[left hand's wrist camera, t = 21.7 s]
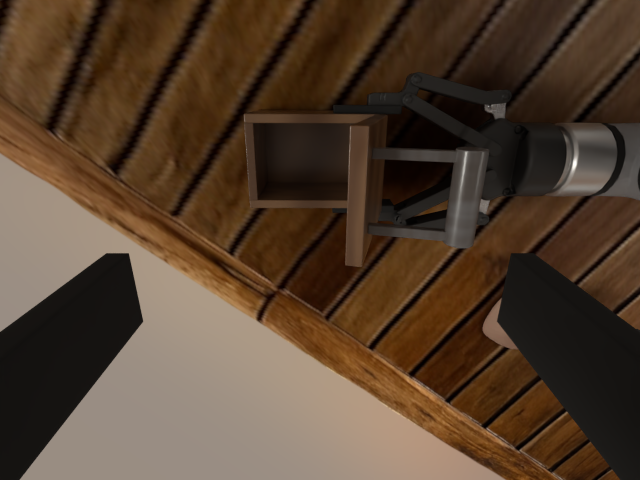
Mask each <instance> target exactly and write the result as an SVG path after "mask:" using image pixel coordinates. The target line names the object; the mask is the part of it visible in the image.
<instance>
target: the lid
mask: <svg viewBox="0 0 640 480" xmlns="http://www.w3.org/2000/svg"><path fill="white" fill-rule="evenodd" d="M387 121H388V115H374V116H371V117H369V118H367V119H365V120H362V121H360V122H358V123H355V124H353V125H351V126H350V136H349V167H348V198H347V228H346V259H345V265H348V266H357V267H362V265H363V262H364V259H365V256H366V253H367V250H368V247H369V245H370V242H371V239H372V236H373V235H384V236H395V237H406V238H417V239H427V240H438V241H443V242H444V243H445V244H446V245H449V246H452V247H456V248H469V247H472V246H473V243H474V237H475V231H476V225H477V220H478V214H479V208H480V202H481V196H482V191H483V185H484V179H485V173H486V168H487V162H488V156H489V150H488V149H485V148H478V147H458V148H456V150H440V149H413V148H386V136H387ZM385 159H386V160H409V161H431V162H454V165H453V172H452V179H451V187H450V194H449V201H448V208H447V215H446V223H445V229H440V228H428V227H416V226H405V225H393V224H381V223H377V221H378V218H379V215H380V213H381V208H382V194H383V179H384V165H385Z"/></svg>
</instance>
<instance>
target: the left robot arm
mask: <svg viewBox="0 0 640 480" xmlns="http://www.w3.org/2000/svg"><path fill="white" fill-rule="evenodd" d="M142 322H143V318H142V314H141V309H140V304H139V299H138V295H137V290H136V285H135V281H134V276H133V271H132V266H131V262H130V257H129V254H128V253H107V254H105V255H104V256H102V257H101V258H100V259H98V260H97V261H96V262H94V263H93V264H91V265H90V266H89V267H87V268H86V269H85V270H83V271H82V272H81V273H79V274H78V275H77V276H75V277H74V278H73V279H71V280H70V281H69V282H67V283H66V284H64V285H63V286H62V287H60V288H59V289H58V290H57V291H55V292H54V293H52V294H51V295H50V296H48V297H47V298H46V299H44V300H43V301H42V302H40V303H39V304H38V305H36V306H35V307H34V308H32V309H31V310H29V311H28V312H27V313H25V314H24V315H23V316H21V317H20V318H19V319H17V320H16V321H15V322H13V323H12V324H11V325H9V326H8V327H6V328H5V329H4V330H2V331H1V332H0V480H20V478H21V477H22V476H23V474H24V473H25V472H26V471H27V469H28V468H29V467H30V466H31V464H32V463H33V462H34V460H35V459H36V458H37V457H38V455H39V454H40V453H41V452H42V450H43V449H44V448H45V446H46V445H47V444H48V442H49V441H50V440H51V439H52V437H53V436H54V435H55V434H56V432H57V431H58V430H59V428H60V427H61V426H62V425H63V423H64V422H65V421H66V420H67V418H68V417H69V416H70V414H71V413H72V412H73V411H74V409H75V408H76V407H77V405H78V404H79V403H80V402H81V400H82V399H83V398H84V397H85V395H86V394H87V393H88V391H89V390H90V389H91V388H92V386H93V385H94V384H95V382H96V381H97V380H98V379H99V377H100V376H101V375H102V373H103V372H104V371H105V370H106V368H107V367H108V366H109V364H110V363H111V362H112V361H113V359H114V358H115V357H116V356H117V354H118V353H119V352H120V350H121V349H122V348H123V347H124V345H125V344H126V343H127V341H128V340H129V339H130V338H131V336H132V335H133V334H134V333H135V331H136V330H137V329H138V327H139V326H140V325H141V324H142ZM497 322H498V324H499V325H500V326H501V327H502V329H503V330H504V331H505V333H506V334H507V335H508V336H509V338H510V339H511V340H512V341H513V343H514V344H515V345H516V347H517V348H518V349H519V350H520V352H521V353H522V354H523V356H524V357H525V358H526V359H527V361H528V362H529V363H530V365H531V366H532V367H533V368H534V370H535V371H536V372H537V373H538V375H539V376H540V377H541V379H542V380H543V381H544V382H545V384H546V385H547V386H548V388H549V389H550V390H551V391H552V393H553V394H554V395H555V397H556V398H557V399H558V400H559V402H560V403H561V404H562V405H563V407H564V408H565V409H566V411H567V412H568V413H569V414H570V416H571V417H572V418H573V420H574V421H575V422H576V423H577V425H578V426H579V427H580V428H581V430H582V431H583V432H584V434H585V435H586V436H587V437H588V439H589V440H590V441H591V443H592V444H593V445H594V446H595V448H596V449H597V450H598V452H599V453H600V454H601V455H602V457H603V458H604V459H605V460H606V462H607V463H608V464H609V466H610V467H611V468H612V469H613V471H614V472H615V473H616V475H617V476H618V477H619V478H620V480H640V330H638V329H635V328H634V327H632V326H631V325H630V324H628V323H627V322H625V321H624V320H623V319H621V318H620V317H619V316H617V315H616V314H615V313H613V312H612V311H611V310H609V309H608V308H607V307H605V306H604V305H603V304H601V303H600V302H598V301H597V300H596V299H594V298H593V297H592V296H590V295H589V294H588V293H586V292H585V291H584V290H582V289H581V288H580V287H578V286H577V285H576V284H574V283H573V282H571V281H570V280H569V279H567V278H566V277H565V276H563V275H562V274H561V273H559V272H558V271H557V270H555V269H554V268H553V267H551V266H550V265H549V264H547V263H546V262H544V261H543V260H542V259H540V258H539V257H538V256H536V255H535V254H534V253H511V257H510V262H509V266H508V271H507V276H506V281H505V285H504V290H503V295H502V299H501V304H500V309H499V314H498V318H497Z"/></svg>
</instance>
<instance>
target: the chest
mask: <svg viewBox="0 0 640 480" xmlns="http://www.w3.org/2000/svg"><path fill="white" fill-rule="evenodd" d="M374 115H380V114H334V113H333V110H257V111H253V112H249V113H245V114H244V122H245V123H244V126H245V140H246V155H247V169H248V183H249V197H250V208H347V198H348V167H349V136H350V126H351V125H353V124H355V123H358V122H360V121H362V120H365V119H367V118H369V117H371V116H374Z"/></svg>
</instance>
